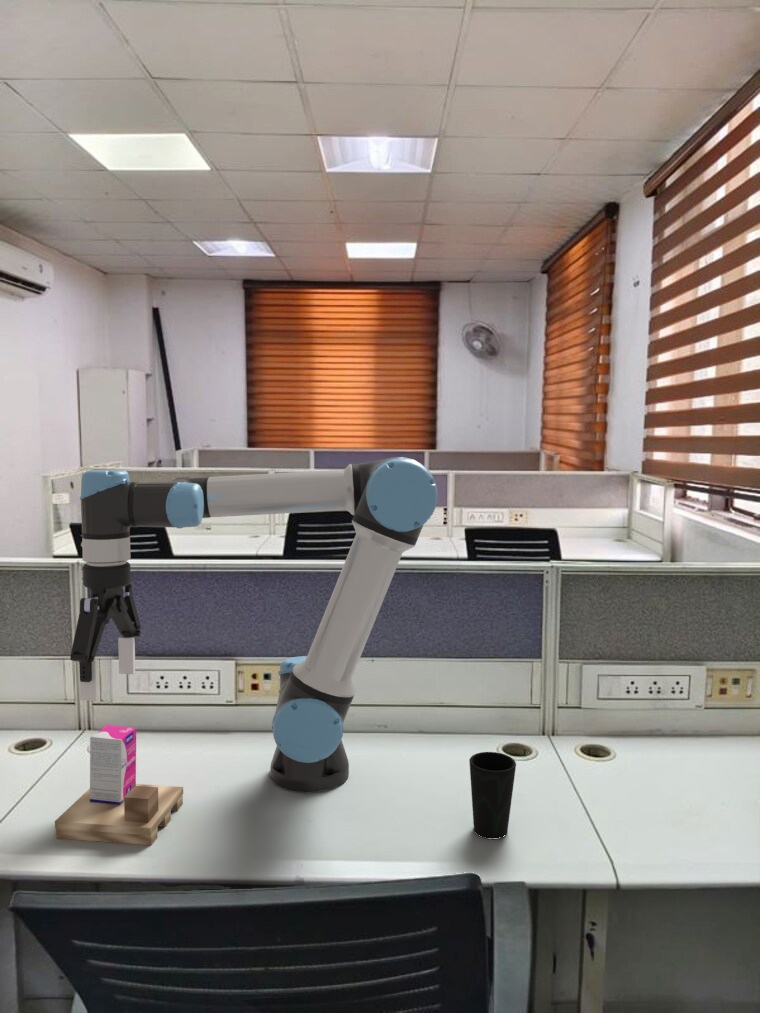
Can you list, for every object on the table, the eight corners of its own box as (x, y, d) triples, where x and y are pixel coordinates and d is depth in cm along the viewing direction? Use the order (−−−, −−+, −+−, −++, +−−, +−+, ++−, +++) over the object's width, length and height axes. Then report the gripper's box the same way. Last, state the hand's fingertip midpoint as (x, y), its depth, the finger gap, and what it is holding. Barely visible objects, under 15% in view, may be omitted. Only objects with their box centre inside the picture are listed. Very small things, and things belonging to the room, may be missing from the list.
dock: (183, 803, 130) (183, 787, 130) (150, 846, 116) (150, 828, 116) (97, 797, 132) (97, 781, 132) (55, 839, 118) (54, 821, 118)
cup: (502, 847, 117) (505, 775, 116) (459, 833, 121) (461, 764, 120) (520, 827, 124) (522, 758, 123) (479, 814, 128) (481, 747, 127)
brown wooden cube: (158, 810, 122) (158, 787, 121) (148, 822, 118) (148, 798, 117) (135, 808, 122) (135, 785, 122) (124, 821, 118) (124, 797, 118)
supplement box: (121, 805, 123) (120, 739, 122) (88, 802, 124) (87, 737, 123) (137, 789, 129) (137, 726, 128) (106, 786, 130) (105, 724, 129)
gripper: (119, 550, 135) (121, 662, 137) (43, 574, 111) (47, 711, 112) (158, 551, 134) (160, 664, 136) (91, 576, 110) (94, 713, 112)
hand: (109, 686), depth 124 cm, fingers open, 13 cm apart
